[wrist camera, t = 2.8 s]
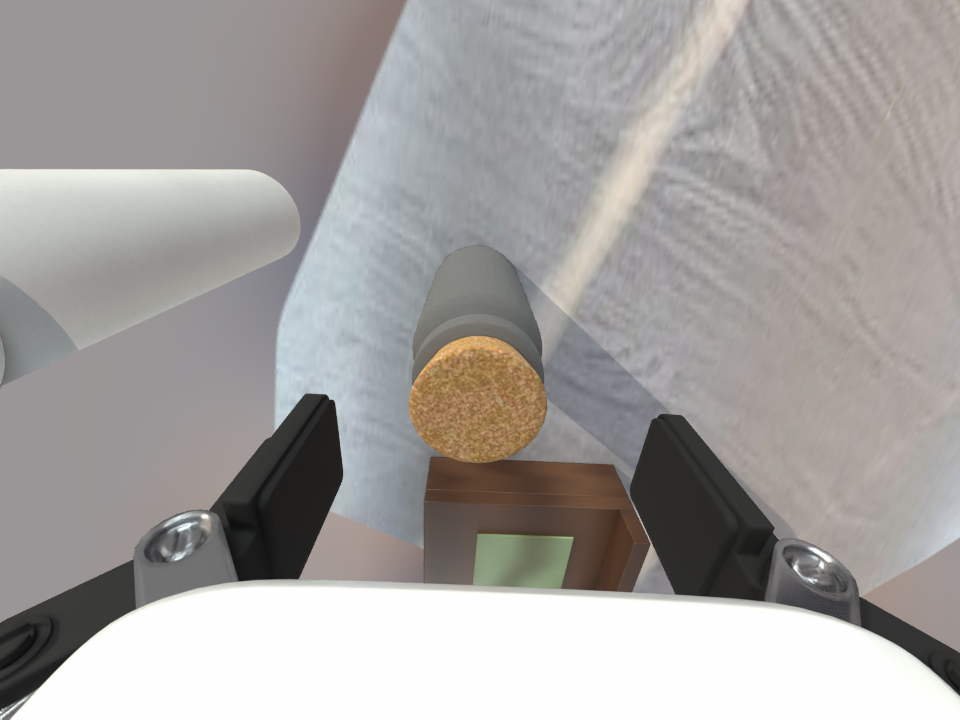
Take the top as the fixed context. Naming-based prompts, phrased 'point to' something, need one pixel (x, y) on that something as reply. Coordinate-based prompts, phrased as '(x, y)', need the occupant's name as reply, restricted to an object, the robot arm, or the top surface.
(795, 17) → the top surface
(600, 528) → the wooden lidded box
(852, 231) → the top surface
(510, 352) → the bottle
